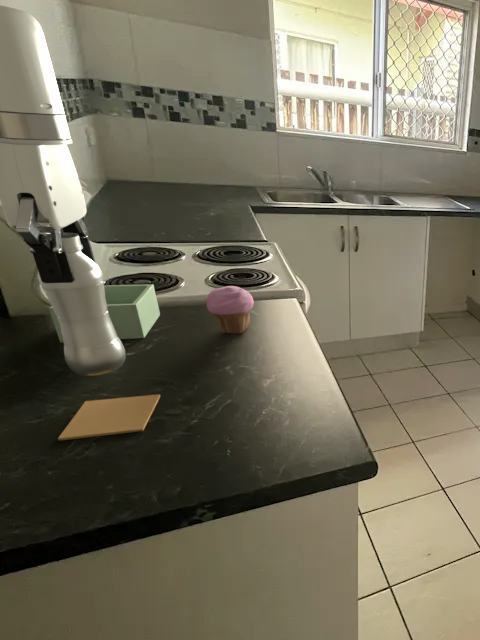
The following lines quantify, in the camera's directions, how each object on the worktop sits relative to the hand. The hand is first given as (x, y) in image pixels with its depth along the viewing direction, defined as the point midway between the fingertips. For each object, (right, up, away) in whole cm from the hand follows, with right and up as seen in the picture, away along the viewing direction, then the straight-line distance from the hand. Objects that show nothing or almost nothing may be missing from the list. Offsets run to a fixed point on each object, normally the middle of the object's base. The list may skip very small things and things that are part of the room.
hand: (70, 272), depth 63 cm
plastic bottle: (-1, -14, +6) cm, 15 cm away
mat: (-2, -21, +10) cm, 23 cm away
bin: (-24, -7, +36) cm, 44 cm away
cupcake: (-1, -7, +40) cm, 41 cm away
